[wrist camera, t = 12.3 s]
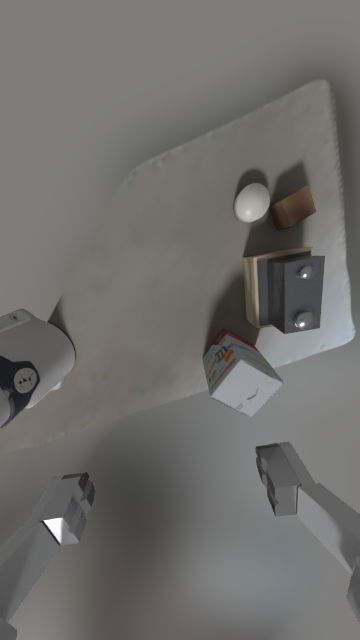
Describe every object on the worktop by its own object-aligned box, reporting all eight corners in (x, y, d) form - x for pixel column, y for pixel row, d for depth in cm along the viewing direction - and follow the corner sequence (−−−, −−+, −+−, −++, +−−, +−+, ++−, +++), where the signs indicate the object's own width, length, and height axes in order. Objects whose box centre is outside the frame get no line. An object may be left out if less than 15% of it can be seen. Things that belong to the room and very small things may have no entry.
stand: (246, 319, 37) (257, 329, 32) (242, 257, 33) (254, 258, 28) (291, 311, 36) (310, 320, 31) (293, 248, 32) (314, 246, 27)
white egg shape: (234, 225, 31) (238, 223, 29) (231, 192, 30) (236, 186, 27) (263, 220, 31) (270, 217, 29) (262, 186, 30) (269, 179, 27)
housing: (266, 262, 28) (289, 263, 22) (299, 256, 28) (331, 255, 22) (268, 322, 31) (288, 336, 26) (298, 317, 31) (324, 330, 25)
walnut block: (277, 230, 32) (290, 226, 28) (268, 207, 30) (281, 200, 27) (299, 217, 31) (316, 211, 27) (291, 193, 30) (308, 184, 26)
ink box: (222, 327, 37) (242, 358, 26) (255, 346, 39) (287, 382, 28) (200, 359, 40) (209, 399, 29) (232, 376, 41) (252, 420, 30)
